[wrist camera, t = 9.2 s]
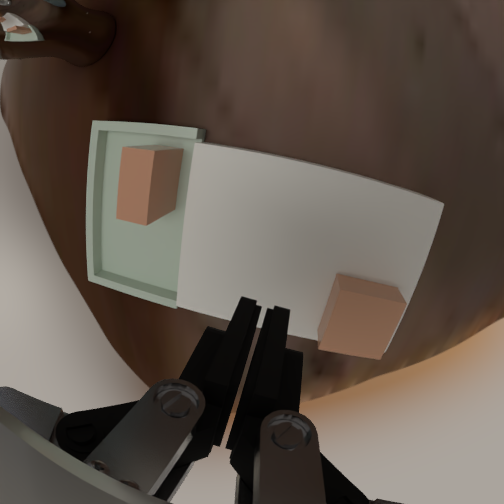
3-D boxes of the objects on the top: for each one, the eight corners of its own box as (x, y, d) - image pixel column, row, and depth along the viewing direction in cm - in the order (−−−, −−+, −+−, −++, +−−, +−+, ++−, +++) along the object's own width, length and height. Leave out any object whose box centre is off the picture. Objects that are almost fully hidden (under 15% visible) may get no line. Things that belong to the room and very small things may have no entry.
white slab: (428, 196, 21) (444, 203, 18) (378, 332, 25) (385, 352, 23) (207, 142, 22) (194, 142, 19) (188, 289, 27) (176, 305, 24)
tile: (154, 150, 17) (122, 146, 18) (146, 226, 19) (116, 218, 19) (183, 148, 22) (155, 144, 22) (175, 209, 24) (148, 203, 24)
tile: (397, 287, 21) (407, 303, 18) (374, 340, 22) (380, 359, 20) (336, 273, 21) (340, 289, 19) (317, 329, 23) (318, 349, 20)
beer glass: (74, 84, 22) (-55, 78, 8) (60, 38, 20) (-52, 18, 6) (128, 42, 20) (-2, -4, 6) (110, -4, 18) (2, -53, 4)
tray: (206, 129, 22) (197, 128, 20) (184, 298, 27) (176, 308, 25) (105, 121, 23) (92, 120, 21) (99, 272, 28) (88, 280, 26)
